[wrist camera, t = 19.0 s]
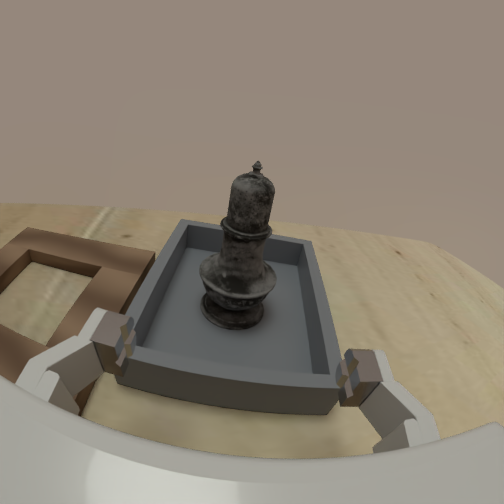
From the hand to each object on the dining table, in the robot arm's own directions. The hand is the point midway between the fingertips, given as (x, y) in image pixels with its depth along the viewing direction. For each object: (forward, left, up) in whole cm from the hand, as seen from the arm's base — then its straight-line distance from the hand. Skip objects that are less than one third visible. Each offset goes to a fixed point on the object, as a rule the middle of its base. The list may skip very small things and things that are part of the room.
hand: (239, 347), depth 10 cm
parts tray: (+7, +8, -8) cm, 14 cm away
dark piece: (+7, +8, -8) cm, 13 cm away
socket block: (-8, +17, -8) cm, 21 cm away
